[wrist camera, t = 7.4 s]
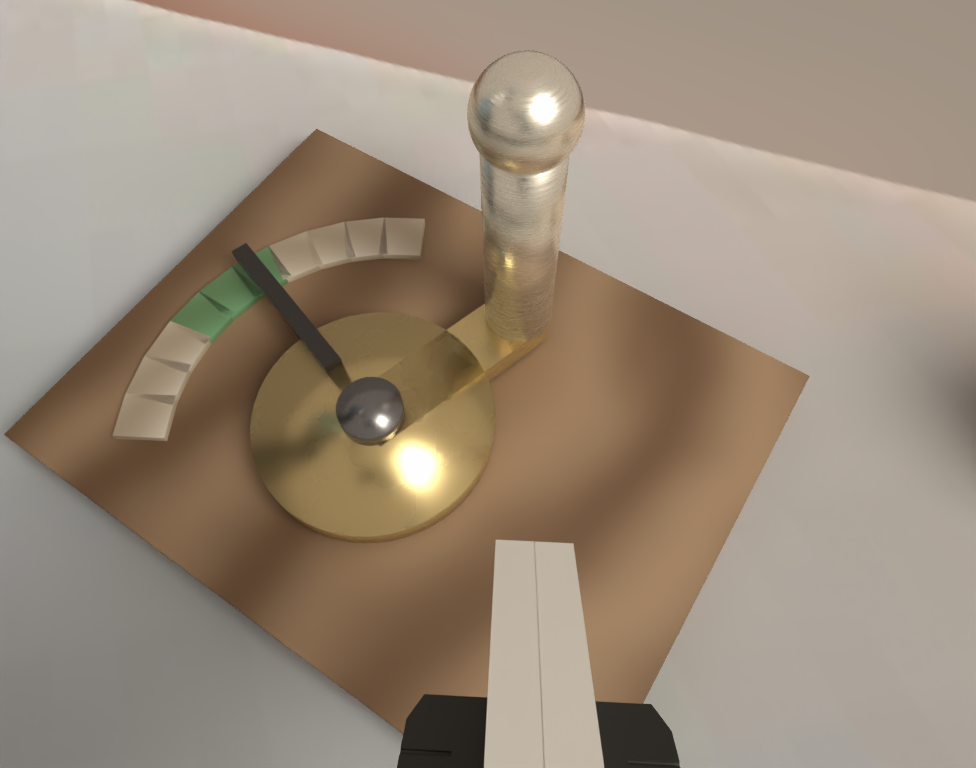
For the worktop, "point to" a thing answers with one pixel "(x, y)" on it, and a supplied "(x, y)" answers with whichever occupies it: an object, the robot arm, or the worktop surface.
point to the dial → (424, 340)
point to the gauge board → (511, 467)
